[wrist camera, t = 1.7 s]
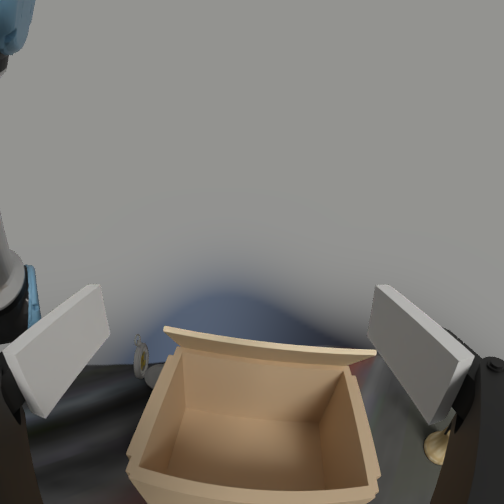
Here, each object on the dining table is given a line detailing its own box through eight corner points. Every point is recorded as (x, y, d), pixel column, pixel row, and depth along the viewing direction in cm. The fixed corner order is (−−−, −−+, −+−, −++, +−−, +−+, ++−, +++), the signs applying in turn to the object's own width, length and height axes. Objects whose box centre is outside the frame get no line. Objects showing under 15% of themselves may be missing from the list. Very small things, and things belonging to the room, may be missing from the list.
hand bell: (419, 433, 36) (465, 373, 30) (451, 430, 35) (496, 371, 29) (427, 468, 28) (484, 411, 22) (461, 461, 27) (515, 404, 21)
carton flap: (376, 355, 27) (376, 349, 27) (163, 331, 27) (164, 325, 28) (344, 366, 36) (345, 361, 36) (181, 347, 36) (182, 342, 36)
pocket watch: (186, 386, 45) (184, 346, 42) (143, 399, 41) (134, 359, 37) (168, 358, 51) (165, 319, 48) (129, 369, 46) (121, 328, 43)
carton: (336, 525, 21) (385, 495, 16) (145, 507, 22) (117, 473, 17) (325, 421, 41) (352, 366, 36) (178, 404, 41) (173, 345, 36)
